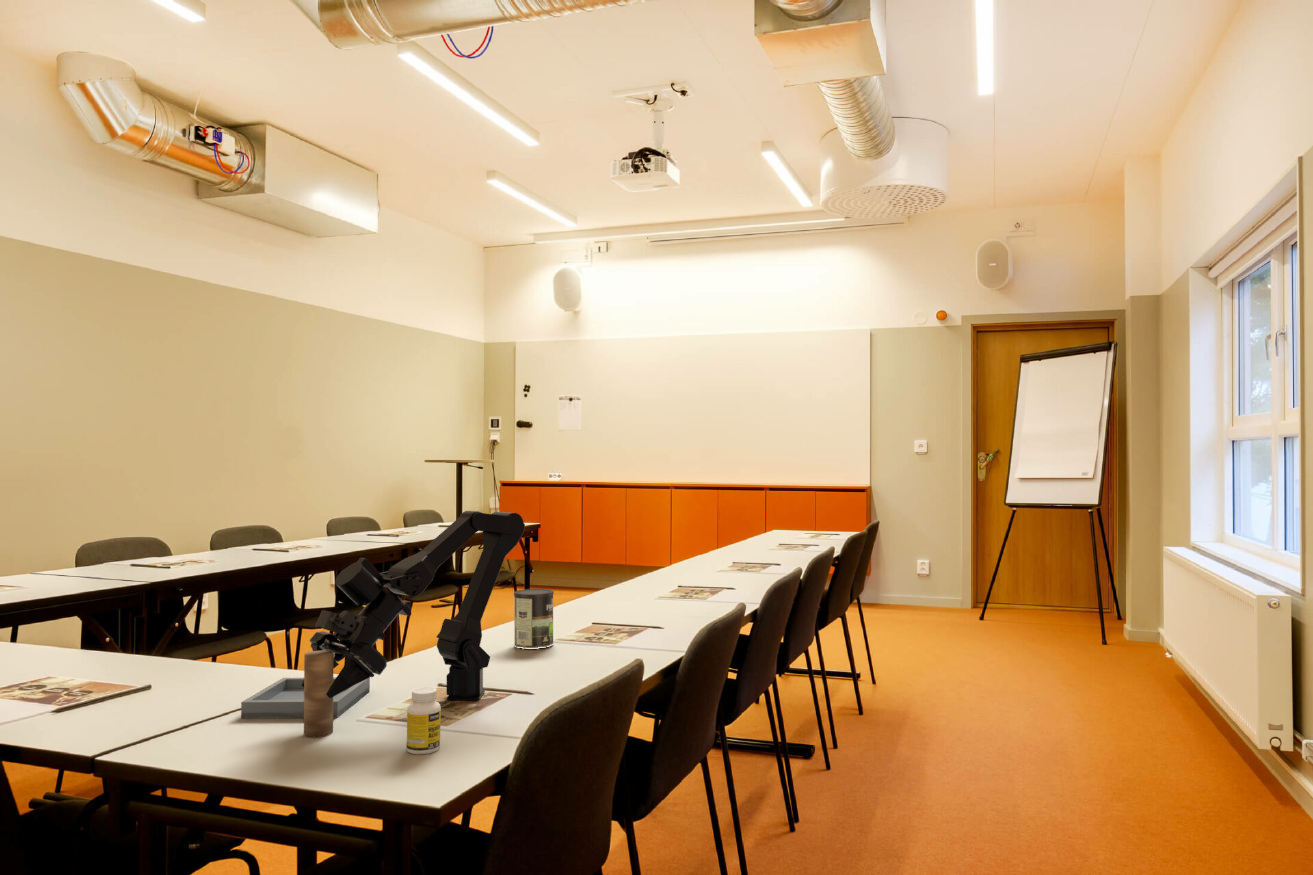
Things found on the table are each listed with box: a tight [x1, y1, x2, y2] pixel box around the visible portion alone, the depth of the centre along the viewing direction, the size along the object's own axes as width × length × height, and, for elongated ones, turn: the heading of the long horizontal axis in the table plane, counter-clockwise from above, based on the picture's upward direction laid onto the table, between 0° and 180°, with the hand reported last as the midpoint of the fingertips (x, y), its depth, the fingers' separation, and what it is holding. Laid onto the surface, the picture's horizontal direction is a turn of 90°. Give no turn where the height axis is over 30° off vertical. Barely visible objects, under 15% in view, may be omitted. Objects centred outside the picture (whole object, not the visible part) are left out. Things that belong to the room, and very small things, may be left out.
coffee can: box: [513, 588, 555, 648], centre depth 221 cm, size 10×10×14 cm
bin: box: [240, 676, 371, 719], centre depth 168 cm, size 18×18×3 cm
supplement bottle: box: [406, 687, 442, 755], centre depth 141 cm, size 5×5×10 cm
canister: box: [303, 650, 334, 739], centre depth 150 cm, size 5×5×14 cm
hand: (315, 691), depth 150 cm, fingers open, 9 cm apart
